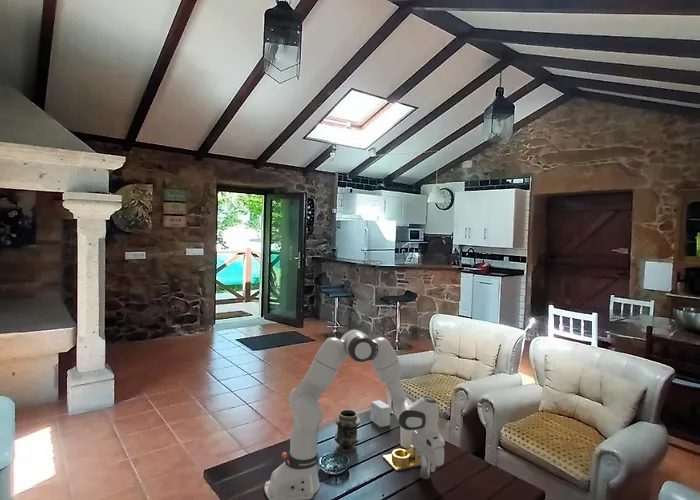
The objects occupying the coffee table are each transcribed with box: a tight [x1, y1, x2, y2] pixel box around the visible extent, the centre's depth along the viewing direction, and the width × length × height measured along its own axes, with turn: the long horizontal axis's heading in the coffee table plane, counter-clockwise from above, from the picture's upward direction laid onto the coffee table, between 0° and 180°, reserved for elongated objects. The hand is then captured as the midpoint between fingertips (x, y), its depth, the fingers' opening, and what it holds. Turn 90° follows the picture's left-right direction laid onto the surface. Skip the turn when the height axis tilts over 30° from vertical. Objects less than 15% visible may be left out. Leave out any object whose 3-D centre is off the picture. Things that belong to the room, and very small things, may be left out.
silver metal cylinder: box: [420, 454, 431, 480], centre depth 191 cm, size 4×4×10 cm
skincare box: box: [369, 399, 392, 428], centre depth 242 cm, size 10×6×10 cm, turn 30°
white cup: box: [399, 425, 414, 449], centre depth 218 cm, size 8×8×10 cm
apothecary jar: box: [333, 409, 361, 455], centre depth 212 cm, size 12×12×18 cm
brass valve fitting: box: [382, 443, 421, 472], centre depth 204 cm, size 18×12×8 cm
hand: (426, 465), depth 192 cm, fingers open, 8 cm apart
